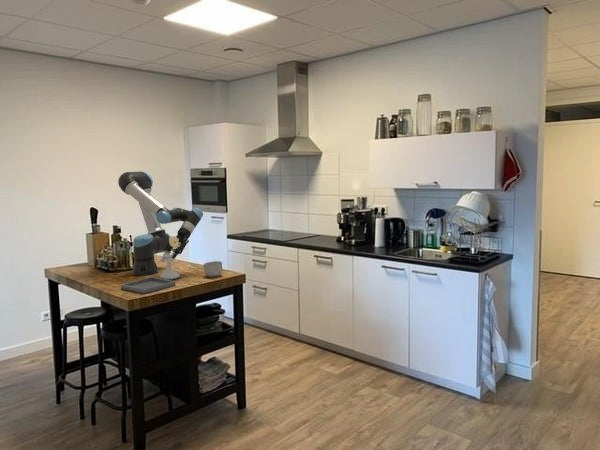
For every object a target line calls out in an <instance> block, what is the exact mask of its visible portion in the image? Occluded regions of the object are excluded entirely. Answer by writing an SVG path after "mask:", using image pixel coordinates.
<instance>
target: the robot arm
mask: <svg viewBox="0 0 600 450" xmlns="http://www.w3.org/2000/svg"><path fill="white" fill-rule="evenodd" d="M117 183H118V186H119V188H120V190H121V191H122V192H123V193H124V194H125V195H127V196H130V197H132V198H133V199H134V200H136V201H137V202H138V205H139V207H140V210H141V211H140V212H141V214H142V218H143V219H144V223H145V226H146V229H147V233H146V234H141V235H137V236H135V237H134V238H133V239H132V240H133V243H132V245H133V257H134V259H133V260H134V262H133V268H132V271H131V273H132V275H133V276H135V277H141V276H142V277H143V276H144V277H145V276H146V277H147V276H152V275H156V274H158V273H159V268H158V265H157V263H156V260H155V255H157V254H159V253H161V254H162V253H163V254H162V256H161V257H160V258H159V261H160V263H162V264H164V263H165V262H166V263H167V262H168V263H169V264H171V265H172V263H173V262H174V260H175V259H176V257H178V255H181V254H182V253H183V251H184V249H185V248H186V246H187V245H188V243H189V242H190V240H189V238H190V237H191V235H192V233H193V232H194V231H195V229H196V227H197V226H198V224H199V223H200V222H201V220H202V218H203V216H204V212H203V211H202V210H201V209H200V208H198V207H193V208H192V209H191V210H189V209H185V208H181V207H173V208H172V209H168V208H166V206H164V205H163V204H162V203H160V202H159V201H158V200H157V199H156V198H155V197H153V196H152V194H151V192H152V187H153V184H154V181H153V177H152V176H151V175H150V173H148V172H146V171H126V172H123V173H122V174H120V176H119V177H118V180H117ZM177 222H183V223H182V225H181V226H180V227H179V229H178V230H177V232H176V233H177V235H175V237H177V239H179V243H181V244H178V245H181V246H180V247H178V248H175V251H174V252H175V253H174V252H173V251H171V249H174V248H173V247H172V246H171V245H170V244H169V238H171V237H172V235H170V234H169V233H167V232H166V229H165V228H163V227H162V225H163V224H165V225H167V224H172V223H177ZM165 250H166V251H169V252H171V254H170V253H166V252H165ZM169 254H170V255H171V256H170V258H169V259H168V261H167V260H166V258H165V257H164V256H165V255H169Z"/></svg>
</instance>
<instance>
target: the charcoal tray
mask: <svg viewBox="0 0 600 450" xmlns="http://www.w3.org/2000/svg"><path fill="white" fill-rule="evenodd" d="M172 287H176V281H175V280H165V279H161V278H160V277H154V276H150V277H147V278H143V279H139V280H134V281H130V282H126V283H122V284H120V290H122V291H123V290H124V291H127V290H128V292H131V291H133V292H132V293H136V292H137V293H136V294H140V293H141V295H146V294H147V295H148V294H150V293H154V292H158V291H161V290H166V289H169V288H172Z"/></svg>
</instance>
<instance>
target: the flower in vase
mask: <svg viewBox="0 0 600 450" xmlns="http://www.w3.org/2000/svg"><path fill="white" fill-rule="evenodd" d="M169 244H170V245H171V246H172V247H173V249H171V251H170V252H169V251H166V250H165V252H166V253H169V255H165V256H164V257H165V258H166V260H165V261H166V269H165V270H164V271H162V273H161V274H159V278H160V279H165V280H170V281H172V280H174V279H178V278H179V277H180V275H181V274H180V273H179V272H178V271H177V270H176V269H174V268H173V267H172V263H171V264H169V263H168V262H167V261H168V259H169V258H170V256H171V255H172V253H173V252H174V251H175V249H176V248H178V247H180V246H181V245H178V244H181V243H179V239H177V237H176V235H171V238H169ZM174 253H175V252H174Z"/></svg>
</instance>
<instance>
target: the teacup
mask: <svg viewBox="0 0 600 450" xmlns="http://www.w3.org/2000/svg"><path fill="white" fill-rule="evenodd" d="M203 269H204V274H205V275H206V276H207V277H209V278H215V277H216V278H217V277H219V276H221V274H222V273H223V262H222V261H221V260H220V261H219V260H214V261H209V262H204V263H203Z"/></svg>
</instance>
